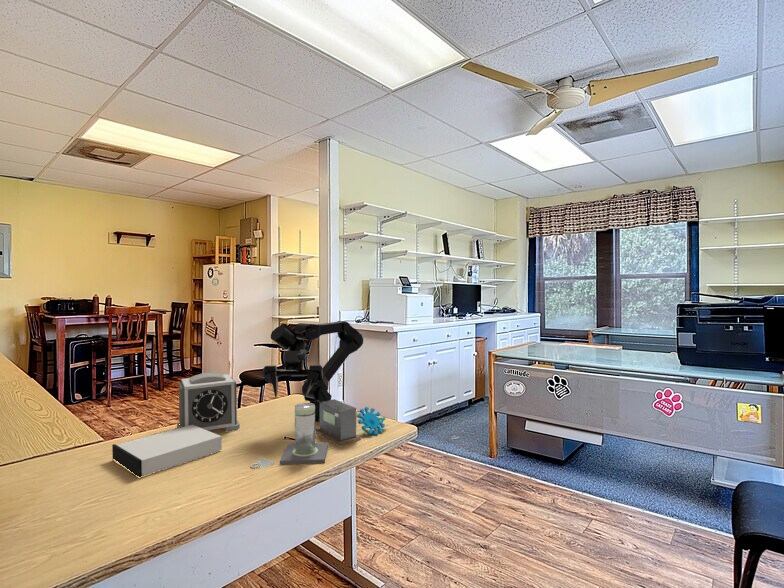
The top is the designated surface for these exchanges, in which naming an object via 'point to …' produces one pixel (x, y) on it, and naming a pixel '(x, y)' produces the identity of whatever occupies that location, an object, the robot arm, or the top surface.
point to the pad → (315, 457)
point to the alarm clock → (208, 402)
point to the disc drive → (166, 449)
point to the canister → (304, 428)
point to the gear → (371, 420)
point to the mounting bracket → (262, 463)
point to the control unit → (337, 422)
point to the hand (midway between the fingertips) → (290, 396)
